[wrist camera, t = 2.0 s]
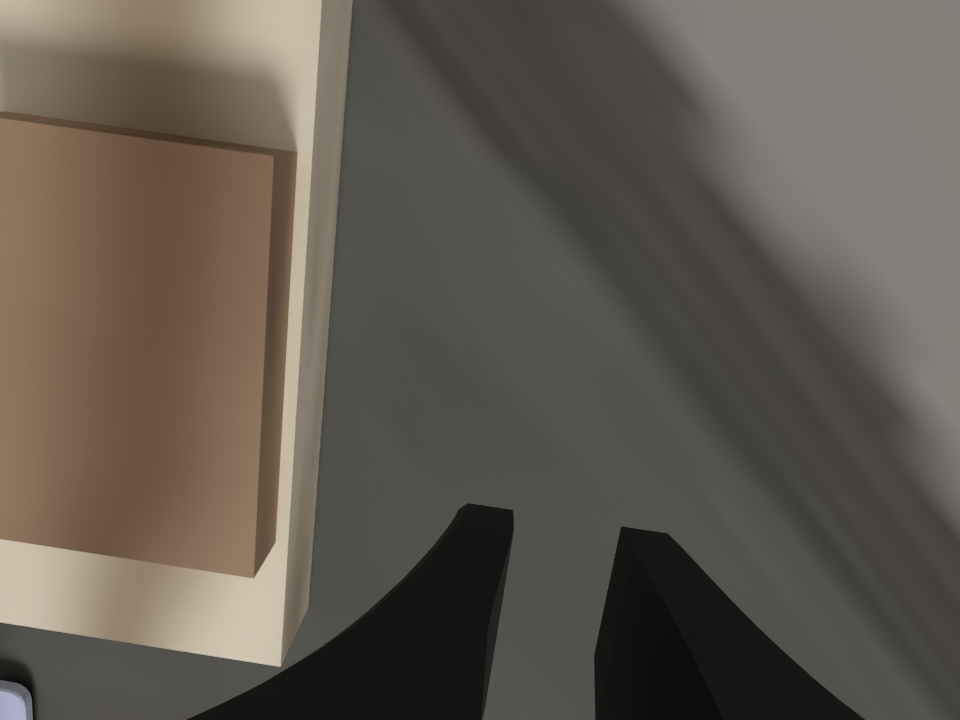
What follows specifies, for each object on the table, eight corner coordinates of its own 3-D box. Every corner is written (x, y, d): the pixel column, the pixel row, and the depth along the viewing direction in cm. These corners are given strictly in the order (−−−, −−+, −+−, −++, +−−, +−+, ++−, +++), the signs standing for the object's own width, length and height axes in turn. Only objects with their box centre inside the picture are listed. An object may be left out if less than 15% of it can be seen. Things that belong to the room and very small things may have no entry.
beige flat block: (47, 565, 22) (-12, 620, 20) (18, -62, 17) (-65, -89, 15) (308, 606, 22) (280, 666, 20) (353, -17, 17) (323, -38, 15)
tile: (28, 504, 19) (-15, 537, 17) (7, 111, 16) (-45, 111, 15) (275, 542, 19) (253, 578, 17) (297, 152, 16) (273, 155, 14)
